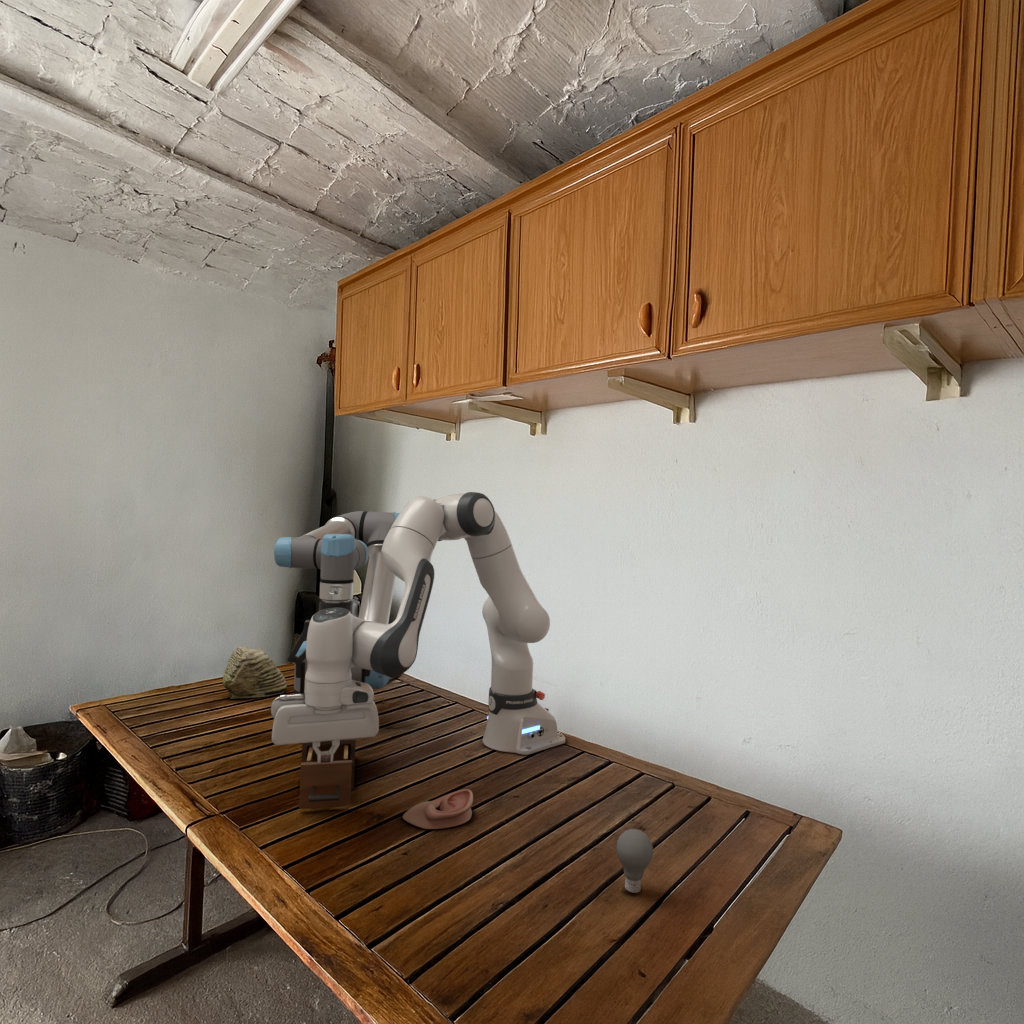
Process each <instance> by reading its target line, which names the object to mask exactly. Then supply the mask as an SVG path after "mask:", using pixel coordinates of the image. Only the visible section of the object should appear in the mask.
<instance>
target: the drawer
mask: <svg viewBox="0 0 1024 1024" xmlns="http://www.w3.org/2000/svg"><path fill="white" fill-rule="evenodd" d="M348 746H349V744H340V745H339V747H338V748H337V750H336V751H335V753H334V754H333V762H328V763H318V762H317V754H316V752H315V750H314V749H313V746H310V747H309V752H308V757H307V762H304V763H300V771H299V772H300V773H299V798H298V799H299V800H298V801H299V802H298V806H299V807H298V809H299V810H305V809H318V808H319V809H320V808H335V807H348V806H351V801H352V789H351V776H352V760H348ZM331 747H332V745H320V747H319V749H320V750H321V751H329V750H330V748H331Z"/></svg>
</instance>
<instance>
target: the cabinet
mask: <svg viewBox="0 0 1024 1024" xmlns="http://www.w3.org/2000/svg"><path fill="white" fill-rule="evenodd" d="M356 741H357V738H354V739H343V740H340V744H349V746H348V760H352V776H351V790H354V789H355V768H356V745H357V742H356ZM320 745H332V741H320ZM310 746H312V742H309V743H301V763H304V762H307V757H308V752H309V747H310ZM301 763H300V764H301Z"/></svg>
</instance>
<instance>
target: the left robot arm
mask: <svg viewBox="0 0 1024 1024" xmlns="http://www.w3.org/2000/svg"><path fill="white" fill-rule="evenodd" d="M399 514H400V512H396V511H393V512H387V511H365V510H358V511H357V510H356V511H352V512H350V511H349V512H347V513H343V514H340V515H337V516H334V517H332V518H330V519H329V520H328V521H327V522H326V523H325V524H324V525H323V526H320V527H318V528H316V529H314V530H311V531H309V532H306V533H305V534H303V535H301V536H298V537H293V536H284V537H283V536H282V537H279V538H278V539H277V540H276V542H275V544H274V548H273V560H274V561H275V564H276V565H277V566H278V567H282V568H289V569H314V570H315V569H317V570H320V578H319V599H320V601H319V603H318V604H319V605H318V611H320V610H323V609H327V608H345V609H348V610H349V611H350V613H351V614H352V615H353V608H354V607H353V605H354V604H353V601H352V599H353V598H354V576H355V571H357V570H359V569H361V568H362V567H363V566H365V565H366V563H368V565H367V570H366V575H365V581H364V586H363V592H362V596H361V603H360V609H359V613H358V618H360V619H363V620H367V621H372V622H376V623H381V624H387V625H388V624H389V621H390V615H391V610H392V609H391V608H392V603H393V602H392V601H393V597H394V590H395V584H396V577H397V576H395V575H394V574H393V573H392V572H391V571H390V570H389V569H388V568H387V566H386V565H385V563H384V561H383V558H382V553H381V550H382V546H383V542H384V540H385V538H386V536H387V534H388V532H389V530H390V528H391V527H392V525H393V523H394V521H395V520H396V518H397V517H398V515H399ZM310 621H311V619H306V620H305V622H304V623H303V630H302V632H301V634H300V636H299V638H298V639H297V641H296V643H295V645H294V646H293V648H292V650H291V652H290V653H289V655H288V657H287V661H288V662H289V663H294V672H293V694H301V693H305V692H304V691H305V675H306V672H307V667H308V663H307V659H306V643H307V640H306V639H307V633H308V628H309V624H310ZM351 674H352V678H351V679H352V680H355V681H359V682H363V683H367V684H369V685H370V686H371V688H372V689H373V690H381V689H383V688H384V687H385V686H387V685H388V683H389V682H391V681H393V680H395V679H397V678H398V677H388V676H385V675H382V674H380V673H377V672H375V671H371V670H366V669H362V668H358V667H352V668H351Z"/></svg>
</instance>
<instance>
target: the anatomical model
mask: <svg viewBox="0 0 1024 1024" xmlns="http://www.w3.org/2000/svg"><path fill="white" fill-rule="evenodd" d="M473 794H474V793H473V791H472V790H471V789H468V788H467V789H466V788H465V789H460V790H459V789H458V790H457V791H452V792H450V793H447V794H444V795H443V796H440V797H438V798H436V799H433V800H428V801H422V802H419V803H418V804H415V805H414V806H412V807H411V808H409V809H407V810H406V811H405V813H404V814H403V815H402V819H403V820H404V822H405V821H406V822H407V823H408V824H410V825H412V826H415V827H416V828H417V827H418V828H420V829H423V830H439V829H448V828H452V827H457V826H460V825H463V824H465V823H467V822H468V821H470V820H471V819H472V816H473V815H472V814H473V810H472V808H471V807H472V805H473V802H474V795H473Z"/></svg>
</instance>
